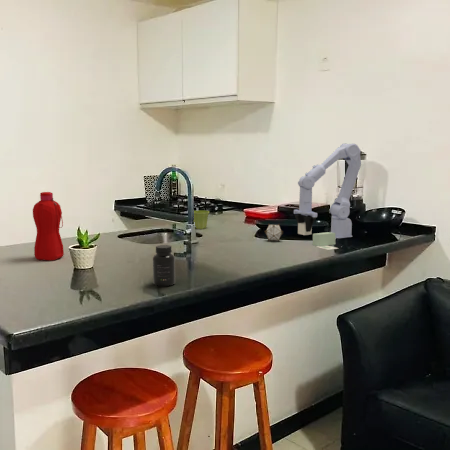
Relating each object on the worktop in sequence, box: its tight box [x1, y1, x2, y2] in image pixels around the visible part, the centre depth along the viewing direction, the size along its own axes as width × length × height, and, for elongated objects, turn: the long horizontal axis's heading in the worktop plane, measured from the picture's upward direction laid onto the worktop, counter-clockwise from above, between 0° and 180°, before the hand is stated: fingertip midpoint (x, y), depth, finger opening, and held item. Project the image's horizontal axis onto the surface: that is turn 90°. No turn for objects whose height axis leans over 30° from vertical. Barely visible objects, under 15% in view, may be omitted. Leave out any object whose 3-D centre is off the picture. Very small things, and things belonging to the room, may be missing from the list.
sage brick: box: [312, 231, 336, 246], centre depth 223 cm, size 9×4×5 cm, turn 121°
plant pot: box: [193, 210, 210, 230], centre depth 263 cm, size 9×9×9 cm
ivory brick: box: [297, 222, 313, 236], centre depth 239 cm, size 4×4×5 cm
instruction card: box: [314, 245, 339, 251], centre depth 217 cm, size 6×8×1 cm
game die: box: [264, 222, 284, 242], centre depth 230 cm, size 9×8×10 cm
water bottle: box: [32, 191, 65, 261], centre depth 190 cm, size 9×11×25 cm
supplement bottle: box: [152, 244, 176, 287], centre depth 158 cm, size 7×7×12 cm
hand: (304, 230), depth 240 cm, fingers closed on ivory brick, 4 cm apart
